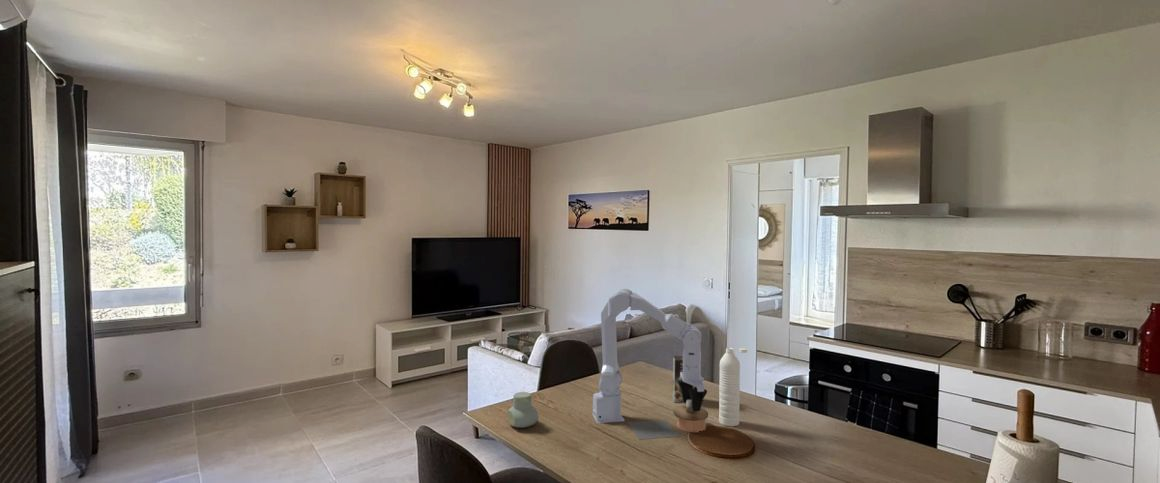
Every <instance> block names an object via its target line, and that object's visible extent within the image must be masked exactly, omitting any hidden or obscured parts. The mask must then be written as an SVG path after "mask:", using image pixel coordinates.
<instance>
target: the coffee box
mask: <svg viewBox="0 0 1160 483" xmlns="http://www.w3.org/2000/svg"><path fill="white" fill-rule="evenodd" d="M680 372H683V355H673V359H672V395H671V396H672V400H673V403H680V404H685V403H684V402H683V398H682V393H681V389H680V387H679V384H678V383H677V381H678V380H681V379H682V378H680ZM692 389H694V386H693V388H692Z"/></svg>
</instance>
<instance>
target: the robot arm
mask: <svg viewBox="0 0 1160 483" xmlns="http://www.w3.org/2000/svg"><path fill="white" fill-rule="evenodd" d="M629 308H630V311H640V312H643V313H644V314H646V315H647V316H648V317H650V318H652V319H654V320H656V321H657V322H660V323H661V328H662V329H663V330H664V331H666V332H668V333H669V334H671V335H672V336H674V337H676V338H677V339H678V340H681V341H682V343H683V350H682V356H683V372H680V378H682V379H681V380H678V381H677V383H678V384H679V387H680V389H681V393H682V398H683V402H684V403H683V404H686V400H691V401H692V409H693V411H694V412H695V411H700V409H701V408H702V405H703V401H704V399H705V397H706V395H707V394H708V390H707V389H705V384H704V383H703V382H704V381H705V378H704V377H703V376H702V351H701V349H702V348H701V343H702V332H701V331H700V329H699V328H698V327H697V326H695V325H692V324H691V323H690V322H686V321H684V320H683V319H682V318H680V315H678V314H677V313H675V314H673V313H665V312H664V311H662V310H660V308H658V307H656V306H655V305H653V304H652V303H651V302H650V301H649V300H647V299H645V298H644V297H642V296H641V295H639V294H638V293H637V292H633V291H632V290H630V289H628V288H623V289H620V290H619V291H618V292H616V293H614V294H613V295H612V296H610V297H609V298H608V300H607V302H606V303H605V305H604V307H603V309H602V311H601V312H600V320H601V324H600V325H601V326H600V327H601V348H602V349H601V352H602V353H601V354H602V368H601V372H600V379H599V381H598V389H599V392H595V393H593V394H592V416H593V418H594V420H595V422H596V423H597V424H604V423H605V424H606V423H617V422H618V423H619V422H625V418H624V417H623V416H622V390H621V388H620V386H621V384H622V383H623V382H622V381H623V377H622V373H621V372H620V365H619V363H618V346H617V345H618V343H617V342H618V341H617V339H618V338H617V317H618V316H619V315H620V314H621V313H622V312H625V311H627V310H628V309H629ZM693 386H694V389H692V388H693Z"/></svg>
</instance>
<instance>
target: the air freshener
mask: <svg viewBox="0 0 1160 483" xmlns="http://www.w3.org/2000/svg"><path fill="white" fill-rule="evenodd" d="M512 396H513V405H512V406H511V407H510V408H509V409H508V410H507V411H506V418H507V421H508V423H509V424H510V426H512V427H514V428H517V429H518V428H519V429H524V428H525V429H526V428H529V427H531V426H533V425H535V424H536V423H537V422H538V420H539V414H538V413H539V412H538V410H537V408H536V407H535V406H533V404H532V394H531V393H530V392H527V391H520V392H515V393H514V394H513V395H512Z"/></svg>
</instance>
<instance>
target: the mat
mask: <svg viewBox="0 0 1160 483" xmlns="http://www.w3.org/2000/svg"><path fill="white" fill-rule="evenodd" d="M627 424H628V425H629V426H630V428H631V430H632V431H633V432H634V434H635V435H636V437H637V438H638V440H639V441H640V440H651V439H653V440H654V439H665V438H677V437H678V438H679V437H681V436H680V435H681V434H679V433H678V432H677V431H676V430H675V429H674V428H673V426H672V425H671V424H670V423H669V422H668V420H666V419H658V420H645V421H643V420H642V421H633V422H632V421H630V422H628V421H627Z"/></svg>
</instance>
